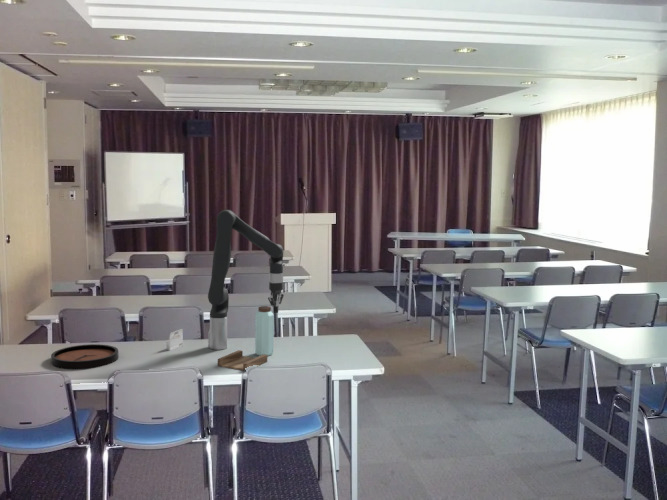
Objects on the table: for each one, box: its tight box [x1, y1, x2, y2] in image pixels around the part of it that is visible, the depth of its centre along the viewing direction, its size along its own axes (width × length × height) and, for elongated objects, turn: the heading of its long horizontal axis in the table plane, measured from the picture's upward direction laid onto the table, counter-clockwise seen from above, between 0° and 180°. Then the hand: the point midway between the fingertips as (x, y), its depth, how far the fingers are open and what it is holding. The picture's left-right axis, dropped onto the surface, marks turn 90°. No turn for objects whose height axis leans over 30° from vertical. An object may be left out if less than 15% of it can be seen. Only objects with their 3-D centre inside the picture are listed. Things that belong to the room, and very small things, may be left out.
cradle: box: [217, 349, 268, 371], centre depth 311 cm, size 17×18×4 cm
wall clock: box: [50, 343, 120, 370], centre depth 313 cm, size 31×4×31 cm
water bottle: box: [254, 305, 275, 357], centre depth 328 cm, size 10×10×25 cm
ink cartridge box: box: [165, 328, 184, 351], centre depth 337 cm, size 2×11×10 cm, turn 155°
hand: (275, 312), depth 337 cm, fingers closed
